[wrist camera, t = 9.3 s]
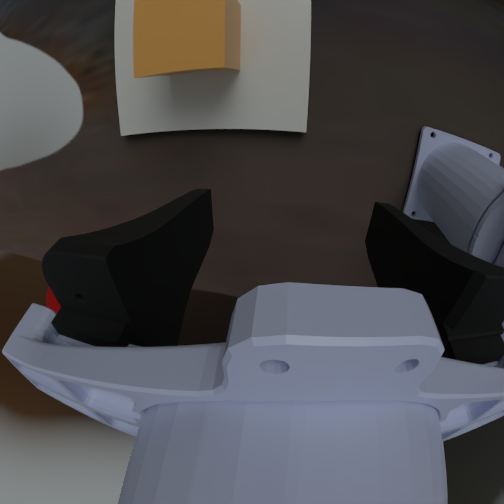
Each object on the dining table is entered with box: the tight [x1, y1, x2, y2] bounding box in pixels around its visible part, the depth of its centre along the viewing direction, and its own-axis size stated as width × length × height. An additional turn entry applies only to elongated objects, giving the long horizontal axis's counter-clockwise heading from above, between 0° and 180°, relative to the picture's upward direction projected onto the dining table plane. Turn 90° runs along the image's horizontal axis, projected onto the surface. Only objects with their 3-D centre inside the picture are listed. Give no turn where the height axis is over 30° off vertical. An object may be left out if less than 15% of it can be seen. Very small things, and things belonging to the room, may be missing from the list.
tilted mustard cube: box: [133, 0, 241, 78], centre depth 11 cm, size 5×5×5 cm
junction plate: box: [115, 0, 311, 136], centre depth 12 cm, size 14×14×4 cm
